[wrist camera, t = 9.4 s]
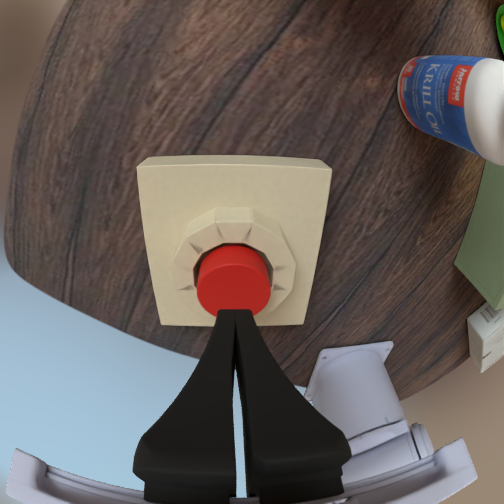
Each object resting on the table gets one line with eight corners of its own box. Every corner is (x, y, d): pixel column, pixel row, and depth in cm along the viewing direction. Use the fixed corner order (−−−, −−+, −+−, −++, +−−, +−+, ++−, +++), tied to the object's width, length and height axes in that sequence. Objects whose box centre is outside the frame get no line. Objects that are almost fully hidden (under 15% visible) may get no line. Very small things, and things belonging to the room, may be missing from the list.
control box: (297, 304, 21) (308, 343, 18) (165, 304, 21) (156, 344, 17) (320, 159, 16) (345, 179, 12) (147, 156, 15) (124, 176, 12)
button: (264, 299, 16) (268, 320, 15) (201, 299, 16) (199, 321, 14) (269, 244, 14) (274, 263, 13) (197, 244, 14) (193, 263, 13)
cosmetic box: (518, 309, 20) (512, 350, 25) (498, 286, 24) (498, 330, 29) (481, 343, 22) (481, 376, 27) (463, 317, 26) (469, 355, 31)
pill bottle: (387, 54, 12) (515, 52, 4) (449, 58, 12) (565, 75, 4) (399, 137, 15) (517, 196, 7) (457, 132, 15) (564, 183, 6)
